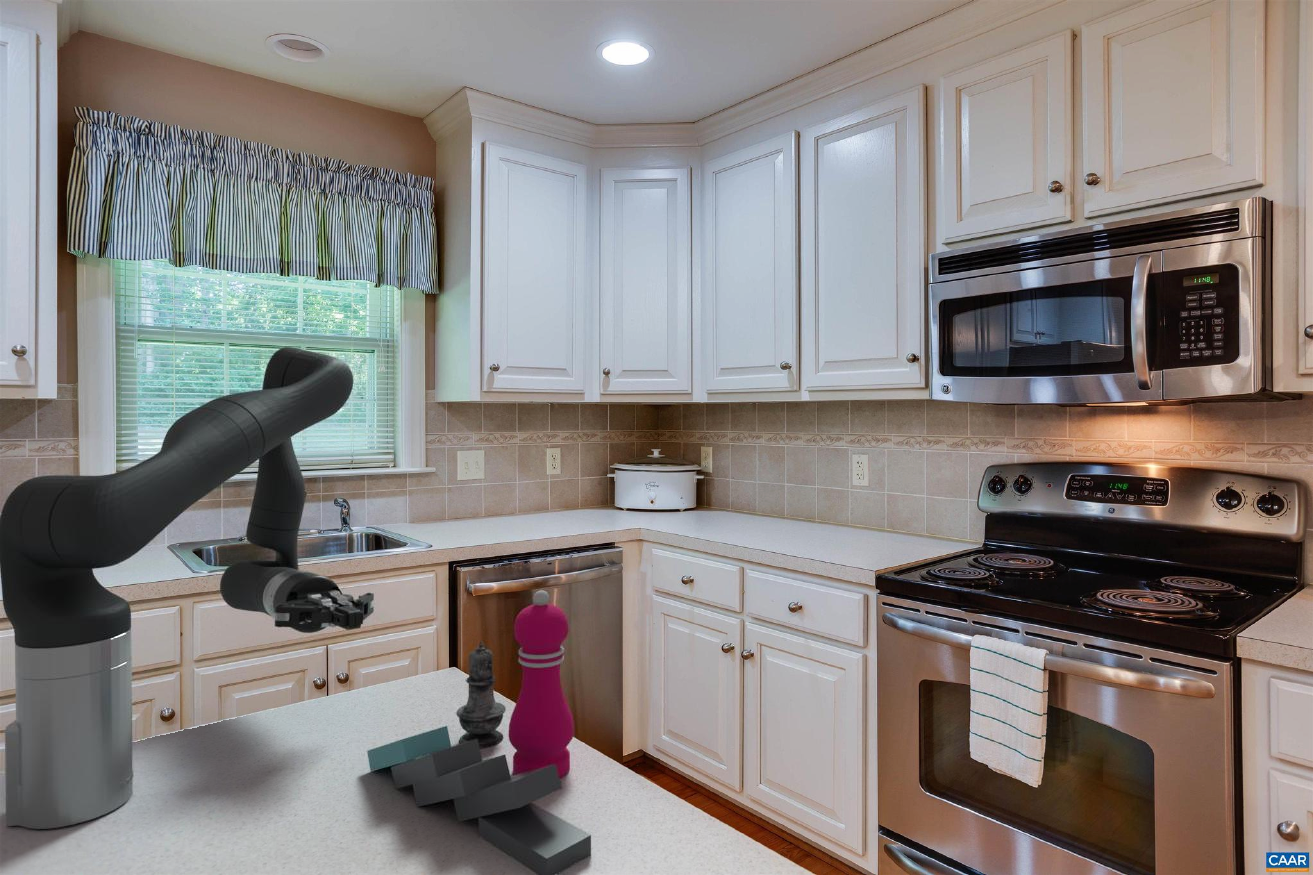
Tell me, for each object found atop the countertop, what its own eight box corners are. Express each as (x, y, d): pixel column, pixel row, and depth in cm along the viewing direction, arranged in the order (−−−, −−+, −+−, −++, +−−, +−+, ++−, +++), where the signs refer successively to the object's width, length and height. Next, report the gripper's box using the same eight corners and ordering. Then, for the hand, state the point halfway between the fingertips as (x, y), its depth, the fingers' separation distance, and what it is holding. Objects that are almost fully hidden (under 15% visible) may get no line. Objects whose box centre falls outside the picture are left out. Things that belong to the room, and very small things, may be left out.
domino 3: (412, 783, 76) (459, 771, 70) (456, 767, 80) (505, 754, 73) (417, 806, 75) (465, 795, 69) (461, 789, 79) (510, 777, 72)
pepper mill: (587, 765, 85) (587, 588, 84) (545, 791, 78) (544, 600, 78) (538, 750, 88) (538, 581, 88) (494, 774, 82) (494, 592, 82)
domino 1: (367, 750, 84) (402, 739, 77) (409, 737, 87) (447, 725, 80) (370, 771, 83) (406, 761, 76) (413, 757, 86) (451, 746, 80)
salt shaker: (477, 753, 87) (477, 651, 87) (446, 741, 91) (445, 642, 91) (515, 737, 92) (515, 640, 92) (484, 725, 96) (484, 632, 96)
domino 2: (391, 767, 79) (431, 753, 73) (434, 752, 83) (477, 738, 76) (395, 788, 79) (436, 777, 72) (438, 772, 82) (482, 760, 76)
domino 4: (453, 797, 72) (513, 781, 67) (495, 780, 76) (555, 763, 70) (458, 821, 72) (519, 807, 66) (500, 802, 76) (562, 788, 70)
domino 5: (478, 816, 70) (546, 858, 63) (522, 797, 74) (591, 834, 67) (478, 840, 70) (547, 884, 63) (522, 819, 74) (591, 859, 67)
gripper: (248, 577, 97) (298, 596, 85) (350, 566, 107) (407, 582, 94) (247, 635, 97) (297, 662, 85) (349, 619, 107) (407, 642, 94)
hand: (355, 620), depth 90 cm, fingers closed
